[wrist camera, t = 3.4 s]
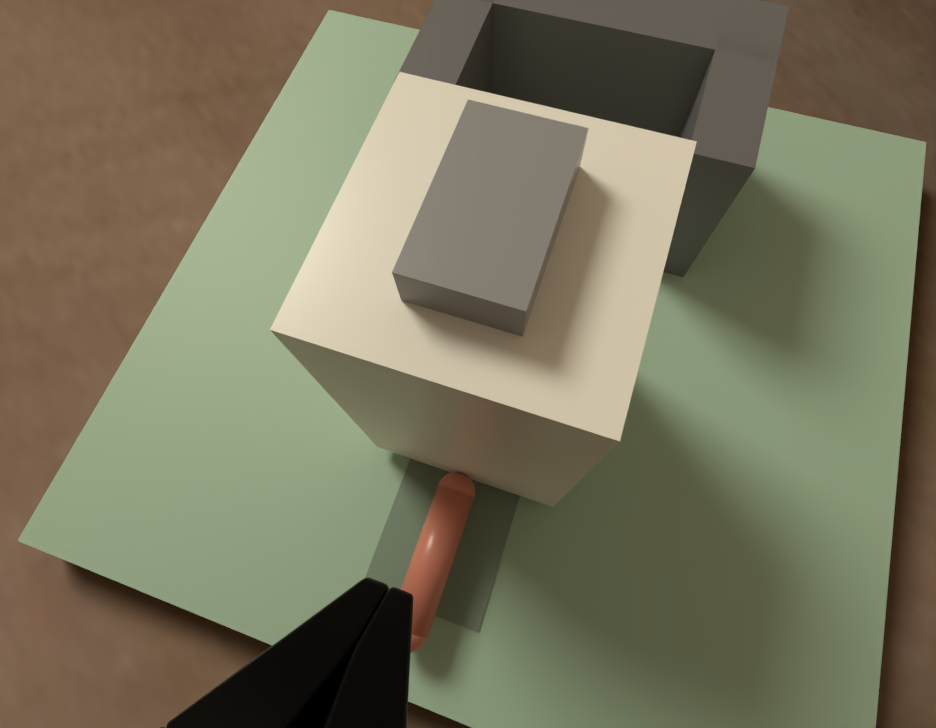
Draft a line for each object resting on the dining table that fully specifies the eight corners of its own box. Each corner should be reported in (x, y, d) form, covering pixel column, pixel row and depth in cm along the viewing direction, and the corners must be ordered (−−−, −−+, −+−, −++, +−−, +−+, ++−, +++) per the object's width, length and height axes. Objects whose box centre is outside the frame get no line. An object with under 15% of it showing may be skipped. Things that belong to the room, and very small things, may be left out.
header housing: (683, 277, 17) (755, 168, 13) (418, 205, 19) (393, 82, 14) (714, 145, 19) (788, 6, 14) (469, 88, 20) (463, -57, 16)
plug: (501, 687, 13) (521, 884, 5) (311, 612, 14) (51, 673, 6) (600, 339, 16) (716, 100, 8) (439, 292, 17) (392, 28, 9)
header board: (822, 854, 13) (886, 908, 11) (57, 543, 17) (-7, 539, 14) (895, 172, 20) (944, 124, 18) (338, 43, 23) (323, -11, 21)
